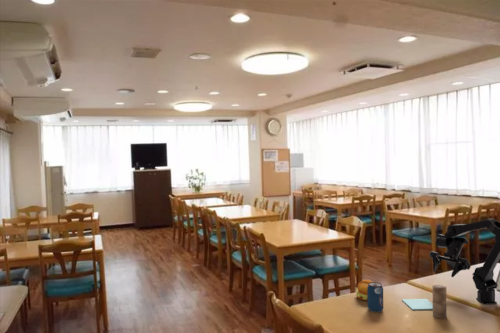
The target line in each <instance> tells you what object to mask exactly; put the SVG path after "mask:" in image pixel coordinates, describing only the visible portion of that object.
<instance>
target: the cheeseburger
mask: <svg viewBox="0 0 500 333" xmlns="http://www.w3.org/2000/svg"><path fill="white" fill-rule="evenodd" d="M370 282H373V281H372V280H370V279H365V280H361V281H359V282H358V284H357V288H356V290H355V291H356V295H355V296H356V298H357V299H359V300H360V301H361V300H362V301H367V302H368V295H367V287H368V285H369V283H370Z"/></svg>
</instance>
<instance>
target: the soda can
mask: <svg viewBox="0 0 500 333" xmlns="http://www.w3.org/2000/svg"><path fill="white" fill-rule="evenodd" d="M382 285H383V283H380V282H377V281H372V282H370V283H369V285H368V287H367V295H368V301H367V308H368V310H369V312H372V313H381V312H382V311H383V310H384V287H383V286H382Z"/></svg>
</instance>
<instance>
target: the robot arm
mask: <svg viewBox="0 0 500 333" xmlns="http://www.w3.org/2000/svg"><path fill="white" fill-rule="evenodd" d="M483 229H488V230H489V231H490V232H491V233H492V234H493V235H495V236H494V244H493V246H492V248H491V250H490V251H489V253H488V255H487V257H486V259H485V260H484V263H483V264H482V266H479V267H478V266H477V267H475V268H474V272H473V273H472V274H471V275H472V278H471V279H472V280H473V283H474V286H475V289H476V290H477V292H476V294H477V295H476V296H477V297H476V300H477V301H478V300H479V302H480V303H482V304H483V303H484V304H483V305H489V303H497V304H498V302H497V301H496V289H497V288H498V286H499V284H498V283H497V282H496V280H494V270H495V269H496V267H497V264H498V262H499V261H500V221H498V220H497V219H494V218H488V219H483V220H479V221H475V222H471V223H458V224H451V225H449V226H447V230H446V232H445V234H443V233H441V234H437V237H436V240H435V245H436V246H437V247H438V248H444V249H446V251H445V252H443V256H442V255H441V254H440V252H437V251H434V250H431V251H430V252H429V255H428V256H429V257H430V258H431V260H432V270H433V271H432V272H433V273H436V271H437V269H438V267H439V265H441V262H442V261H445V262H446V263H447V264H448V265H449V267H450V268H451V269H452V272H451V275H450V276H451V278H454V277H455V276H456V275H457V274H458V273H460V272H461V271H469V270H470V268H471V266H472V265H471V263H470V262H469V260H468V259H467V258H463V257H461V256H462V255H461V251H462V250H463V247H464V244H467V245H469V243H470V242H469V241H468V239H467V238H466V236H464V235H466V234H468V233H469V232H473V231H478V230H483ZM460 236H463V237H460ZM487 303H488V304H487Z"/></svg>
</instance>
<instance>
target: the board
mask: <svg viewBox="0 0 500 333" xmlns="http://www.w3.org/2000/svg"><path fill="white" fill-rule="evenodd" d="M401 301H402V302H403V303H404V304H405V305H406V307H408V308H409V309H411V311H433V302H431V301H430V300H429V299H427V298H402V299H401Z"/></svg>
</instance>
